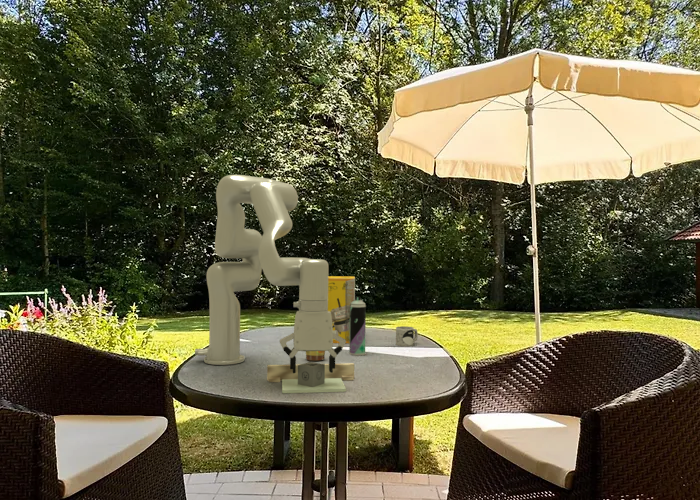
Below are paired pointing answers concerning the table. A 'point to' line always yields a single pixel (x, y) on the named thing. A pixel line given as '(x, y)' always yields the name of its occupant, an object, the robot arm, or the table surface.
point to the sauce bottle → (315, 355)
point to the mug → (405, 336)
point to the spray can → (357, 327)
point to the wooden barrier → (284, 371)
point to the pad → (328, 386)
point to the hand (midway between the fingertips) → (312, 371)
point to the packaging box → (341, 304)
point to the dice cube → (311, 374)
